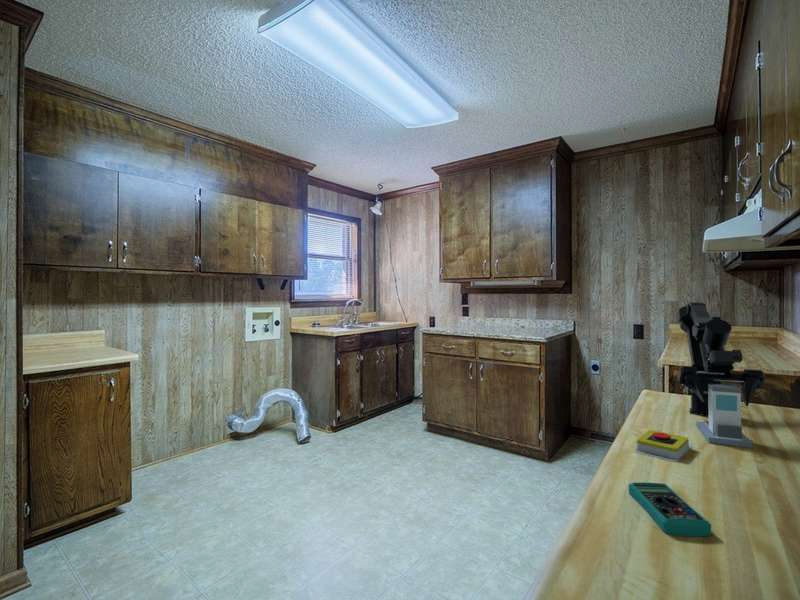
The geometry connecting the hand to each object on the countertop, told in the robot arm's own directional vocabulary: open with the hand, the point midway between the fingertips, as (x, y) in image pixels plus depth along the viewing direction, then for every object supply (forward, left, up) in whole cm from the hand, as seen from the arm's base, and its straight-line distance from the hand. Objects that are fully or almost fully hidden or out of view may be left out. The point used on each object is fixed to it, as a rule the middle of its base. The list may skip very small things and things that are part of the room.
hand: (725, 403), depth 109 cm
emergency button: (+16, -13, -11) cm, 23 cm away
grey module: (-1, 0, -8) cm, 8 cm away
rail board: (-4, -1, -10) cm, 11 cm away
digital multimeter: (+51, -9, -11) cm, 53 cm away
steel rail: (-4, -1, -8) cm, 9 cm away
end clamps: (-1, 0, -8) cm, 8 cm away
